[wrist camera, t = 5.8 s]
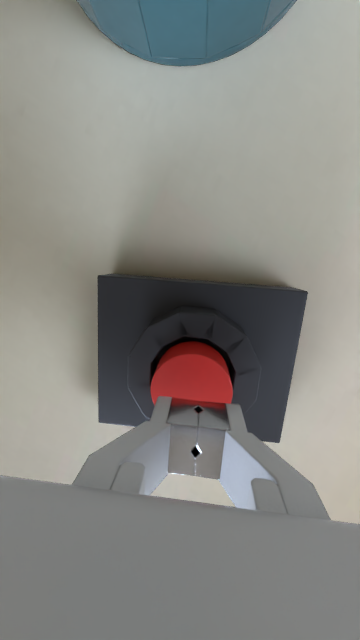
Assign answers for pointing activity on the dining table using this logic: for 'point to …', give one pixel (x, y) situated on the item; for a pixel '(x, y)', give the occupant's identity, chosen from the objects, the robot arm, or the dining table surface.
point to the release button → (192, 374)
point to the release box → (200, 326)
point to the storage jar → (184, 26)
